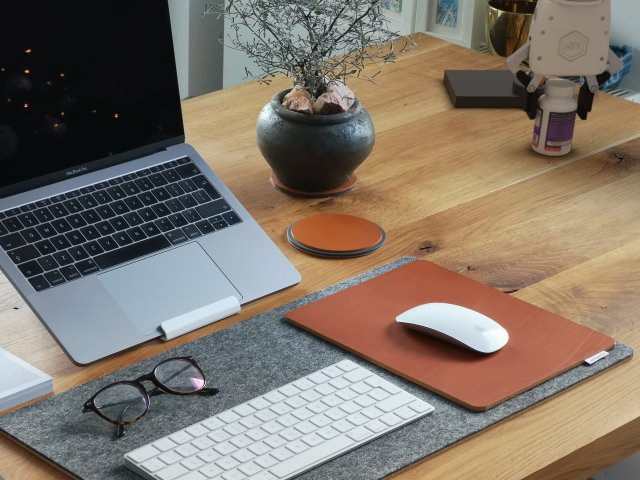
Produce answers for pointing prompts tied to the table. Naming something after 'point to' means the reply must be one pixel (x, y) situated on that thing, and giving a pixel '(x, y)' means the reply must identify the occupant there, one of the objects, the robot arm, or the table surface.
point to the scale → (486, 88)
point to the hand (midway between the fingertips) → (555, 115)
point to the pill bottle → (555, 118)
